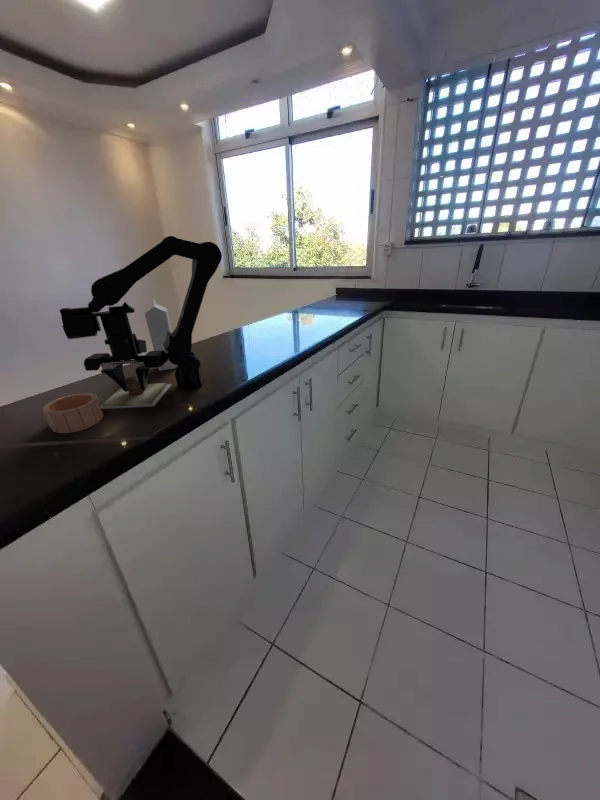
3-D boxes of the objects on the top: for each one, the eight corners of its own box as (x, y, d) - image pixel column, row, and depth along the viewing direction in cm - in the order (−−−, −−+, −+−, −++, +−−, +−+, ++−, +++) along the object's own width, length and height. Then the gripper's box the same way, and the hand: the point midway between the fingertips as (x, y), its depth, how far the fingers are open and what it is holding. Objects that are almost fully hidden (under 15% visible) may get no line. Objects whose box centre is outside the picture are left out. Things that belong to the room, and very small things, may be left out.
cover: (167, 385, 89) (163, 369, 87) (151, 404, 78) (146, 387, 76) (124, 387, 88) (120, 372, 86) (103, 406, 78) (96, 389, 76)
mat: (172, 385, 90) (171, 384, 90) (154, 408, 77) (153, 406, 77) (123, 388, 90) (123, 386, 89) (97, 411, 77) (96, 409, 77)
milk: (159, 372, 101) (141, 302, 91) (161, 366, 106) (144, 299, 96) (178, 369, 102) (163, 300, 93) (179, 364, 108) (164, 298, 98)
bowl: (112, 412, 76) (105, 391, 74) (89, 433, 67) (80, 411, 65) (70, 414, 76) (62, 394, 74) (42, 436, 67) (31, 414, 65)
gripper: (168, 324, 83) (180, 377, 90) (97, 327, 83) (115, 381, 90) (152, 334, 73) (167, 393, 80) (72, 337, 73) (94, 397, 80)
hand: (135, 390), depth 83 cm, fingers open, 4 cm apart
